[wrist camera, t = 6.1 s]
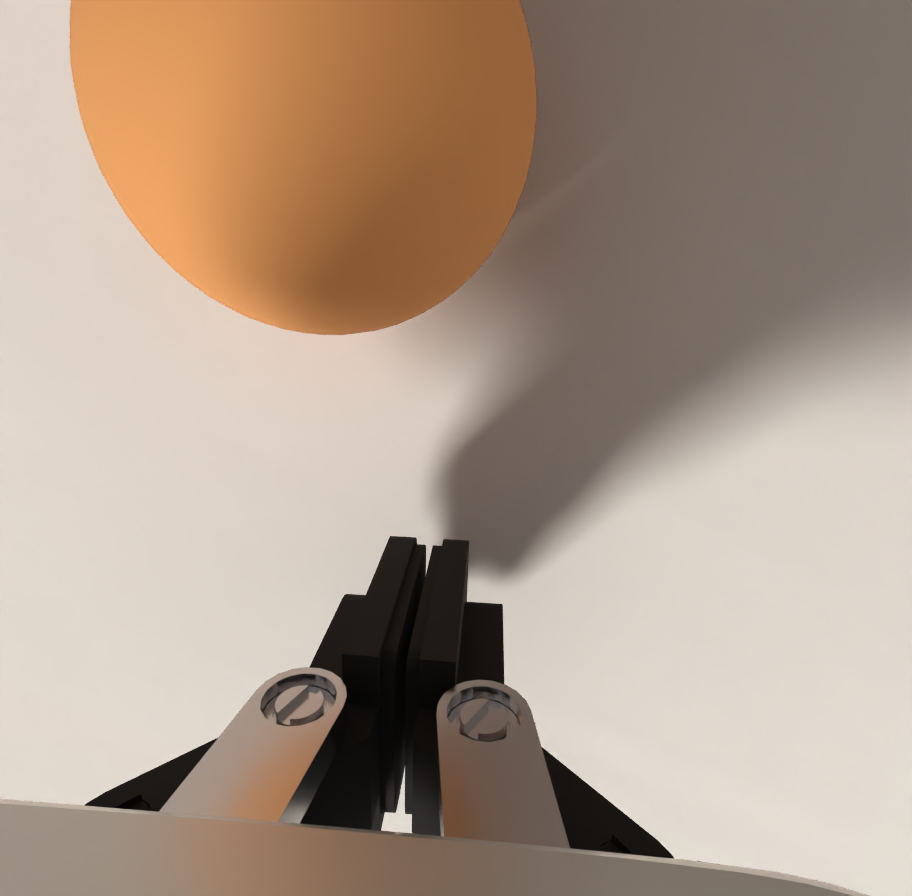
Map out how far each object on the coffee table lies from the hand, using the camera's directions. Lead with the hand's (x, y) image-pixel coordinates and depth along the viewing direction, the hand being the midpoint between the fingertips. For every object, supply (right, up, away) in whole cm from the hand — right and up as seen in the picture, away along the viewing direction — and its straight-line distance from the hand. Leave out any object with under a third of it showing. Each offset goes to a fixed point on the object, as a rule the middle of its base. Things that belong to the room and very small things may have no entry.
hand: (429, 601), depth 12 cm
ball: (-1, +8, -4) cm, 9 cm away
